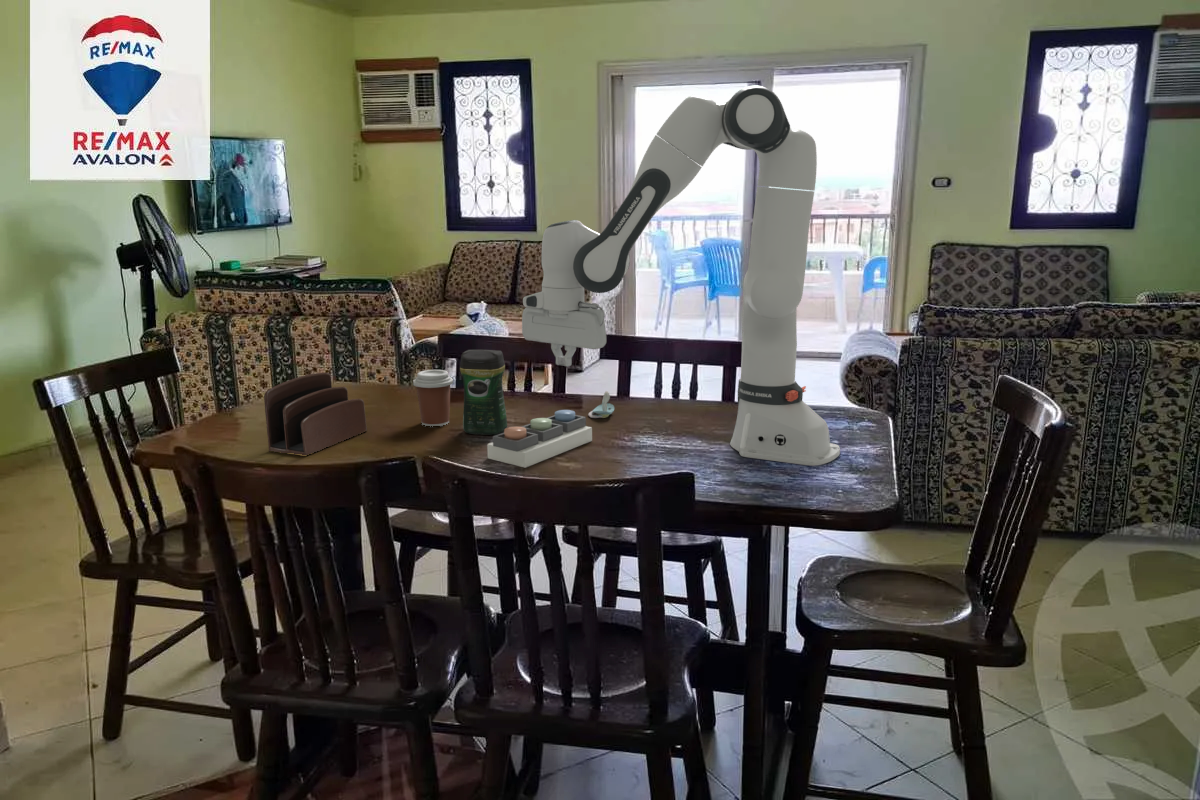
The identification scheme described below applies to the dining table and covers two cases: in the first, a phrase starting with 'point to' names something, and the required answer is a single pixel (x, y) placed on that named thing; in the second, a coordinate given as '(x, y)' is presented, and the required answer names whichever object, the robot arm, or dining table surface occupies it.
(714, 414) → the dining table surface
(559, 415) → the blue button
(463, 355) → the coffee jar
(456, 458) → the dining table surface
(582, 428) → the button panel
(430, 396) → the coffee cup
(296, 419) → the letter holder
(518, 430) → the terracotta button
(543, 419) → the sage button
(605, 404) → the pacifier
